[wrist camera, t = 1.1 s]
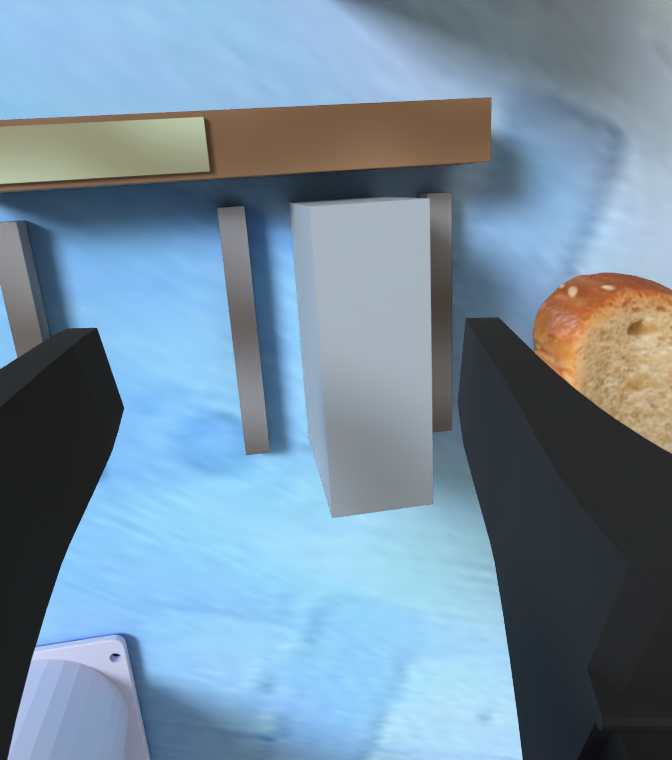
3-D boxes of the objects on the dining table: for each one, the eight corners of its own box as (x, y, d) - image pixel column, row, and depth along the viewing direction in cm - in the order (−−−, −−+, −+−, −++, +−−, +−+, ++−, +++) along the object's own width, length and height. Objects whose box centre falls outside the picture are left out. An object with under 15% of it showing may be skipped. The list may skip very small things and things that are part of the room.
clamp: (454, 420, 27) (487, 454, 24) (40, 470, 25) (9, 515, 21) (455, 110, 23) (493, 96, 20) (-39, 134, 21) (-94, 123, 17)
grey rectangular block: (389, 427, 27) (438, 503, 20) (308, 437, 27) (332, 517, 20) (380, 196, 24) (436, 197, 17) (288, 202, 23) (309, 206, 17)
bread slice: (568, 240, 26) (620, 248, 23) (850, 381, 31) (930, 406, 27) (395, 578, 30) (416, 630, 26) (669, 658, 35) (718, 711, 31)
